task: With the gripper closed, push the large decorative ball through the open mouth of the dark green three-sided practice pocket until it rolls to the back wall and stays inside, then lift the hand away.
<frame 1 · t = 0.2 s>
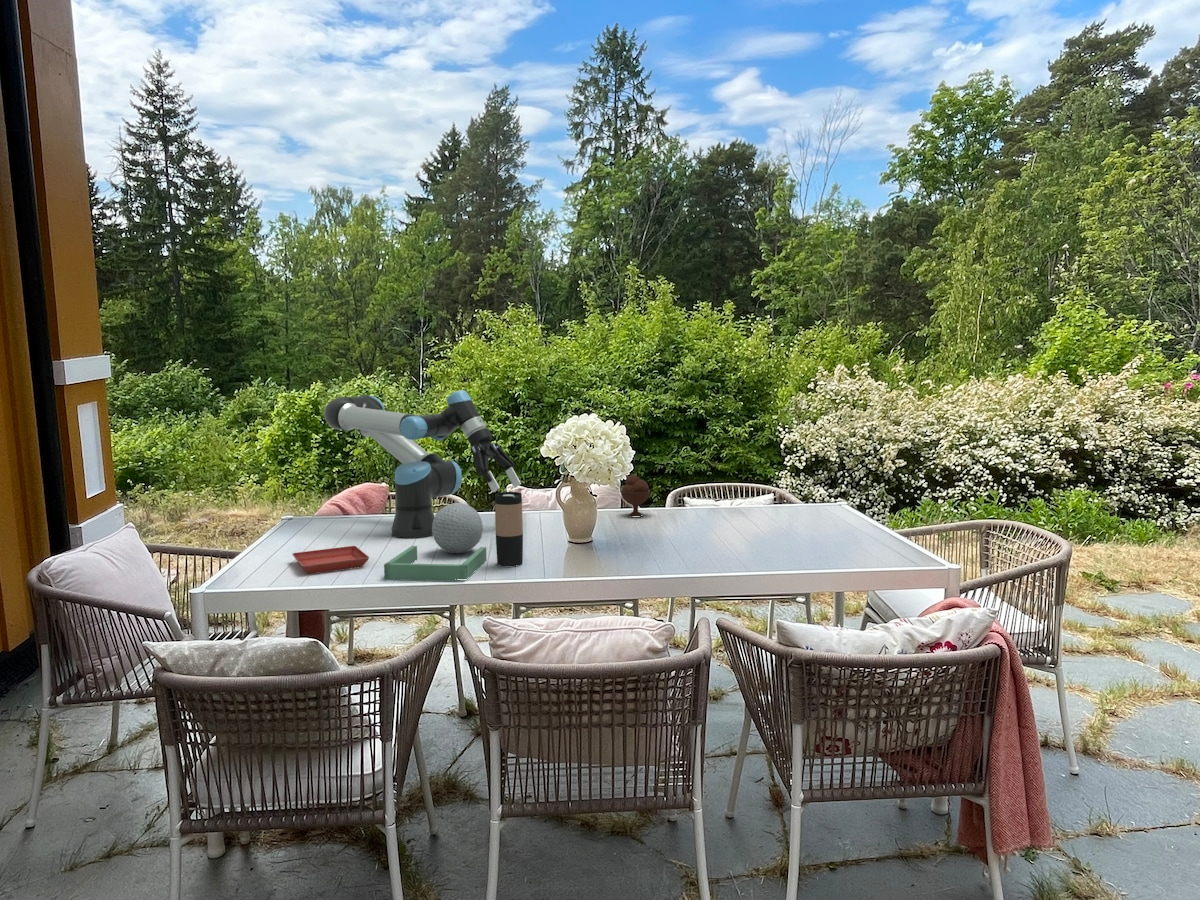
hand: (507, 487, 268), 15 cm above the table, tool tilted 35°, fingers open, 13 cm apart
plant saucer: (330, 566, 231), on the table
travel mug: (509, 564, 230), on the table
ice cream bowl: (635, 516, 298), on the table
practice pocket: (438, 568, 225), on the table
decorative ball: (458, 553, 244), on the table
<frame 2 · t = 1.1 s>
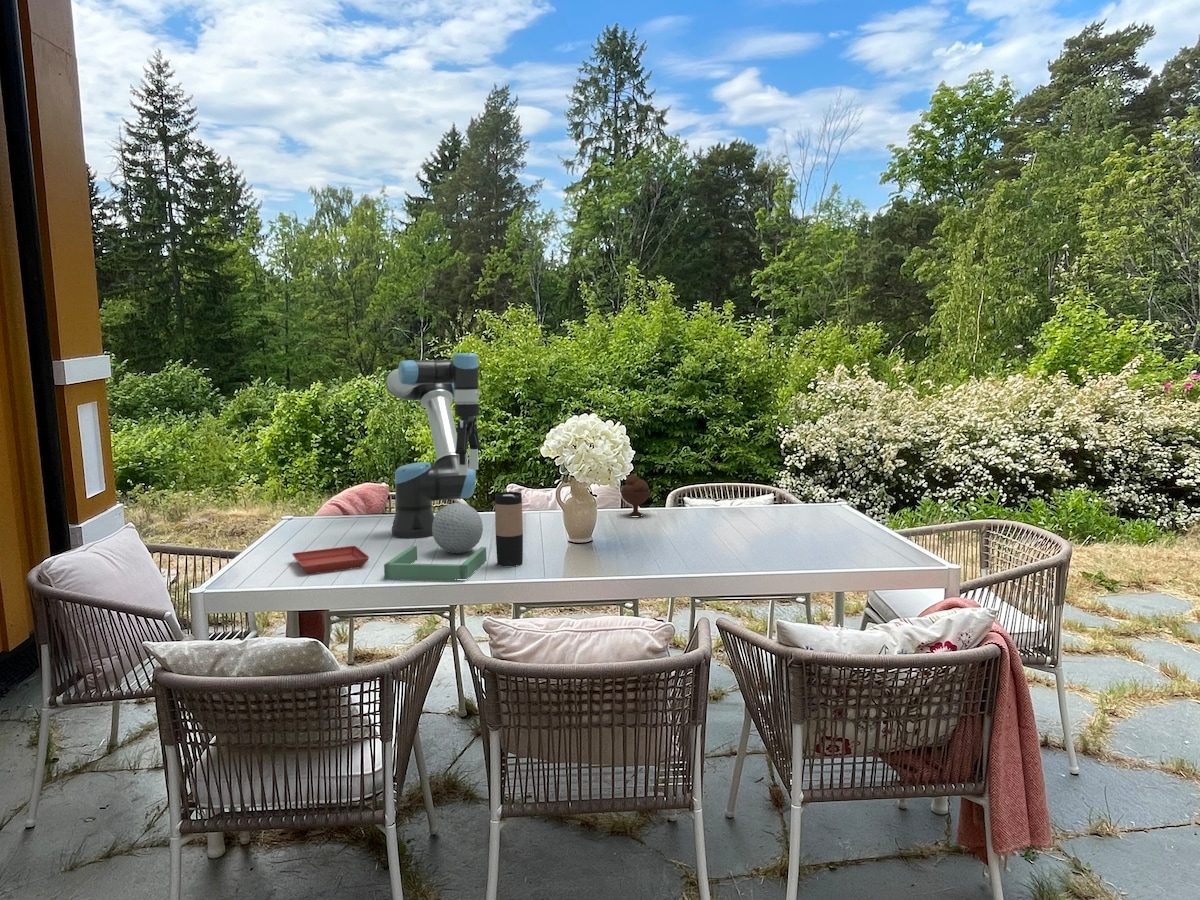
hand: (468, 472, 255), 22 cm above the table, tool pointing down, fingers open, 12 cm apart
nothing on the table moved.
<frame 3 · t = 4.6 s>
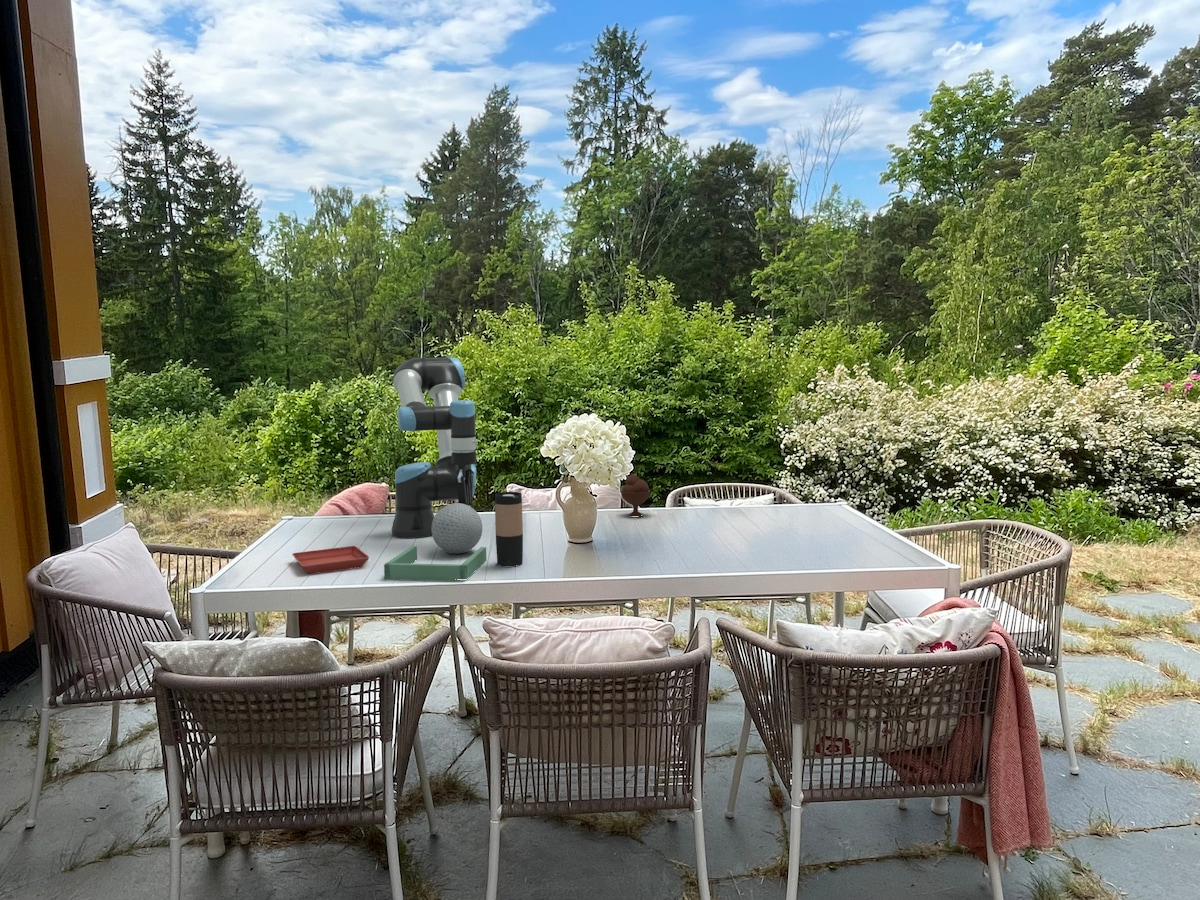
hand: (466, 526, 252), 6 cm above the table, tool pointing down, fingers closed
decorative ball: (457, 553, 244), on the table, touching gripper
everything else where it was.
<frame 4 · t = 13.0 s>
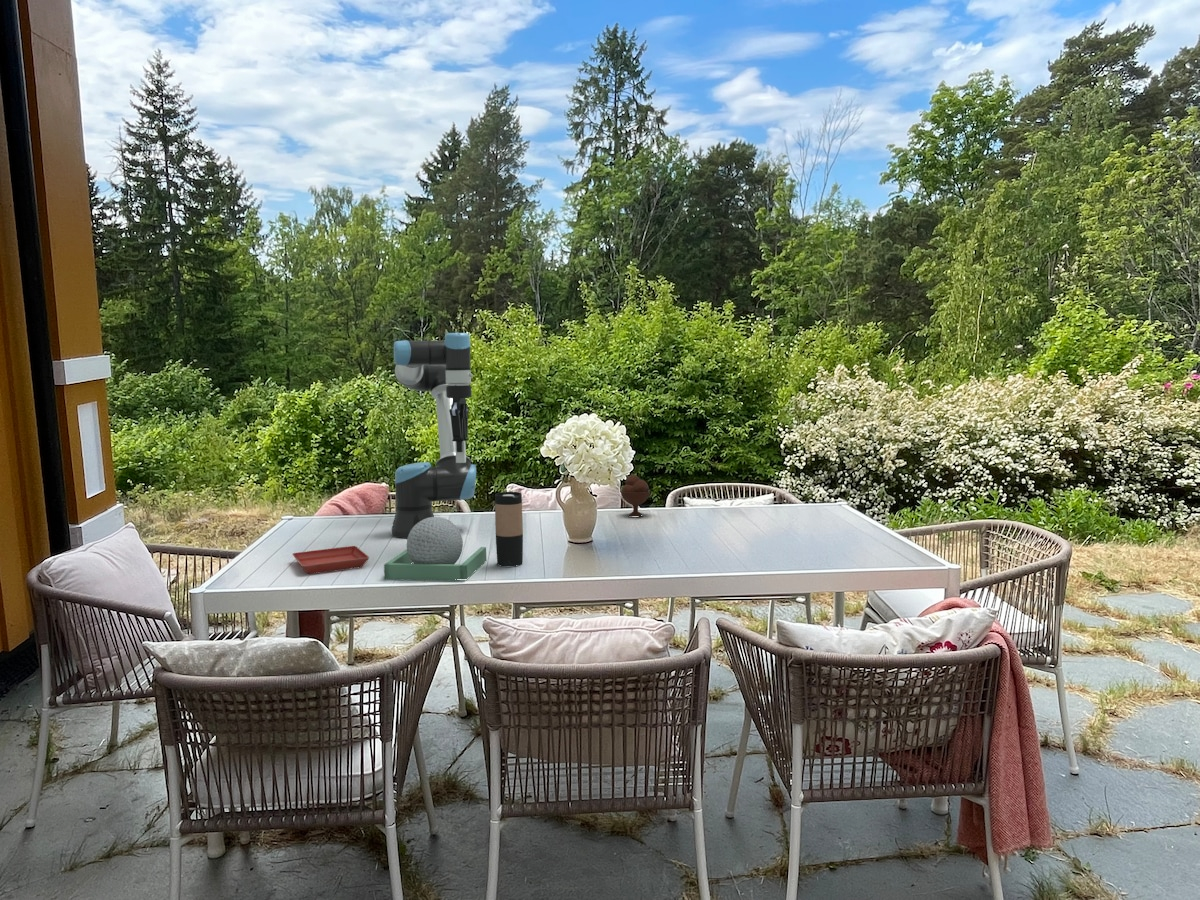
hand: (461, 462, 248), 26 cm above the table, tool pointing down, fingers closed
decorative ball: (435, 572, 223), on the table
everything else where it was.
at the end: decorative ball 2.5 cm from the practice pocket (horizontally); decorative ball touching table; decorative ball moved 21.6 cm from its start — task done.
